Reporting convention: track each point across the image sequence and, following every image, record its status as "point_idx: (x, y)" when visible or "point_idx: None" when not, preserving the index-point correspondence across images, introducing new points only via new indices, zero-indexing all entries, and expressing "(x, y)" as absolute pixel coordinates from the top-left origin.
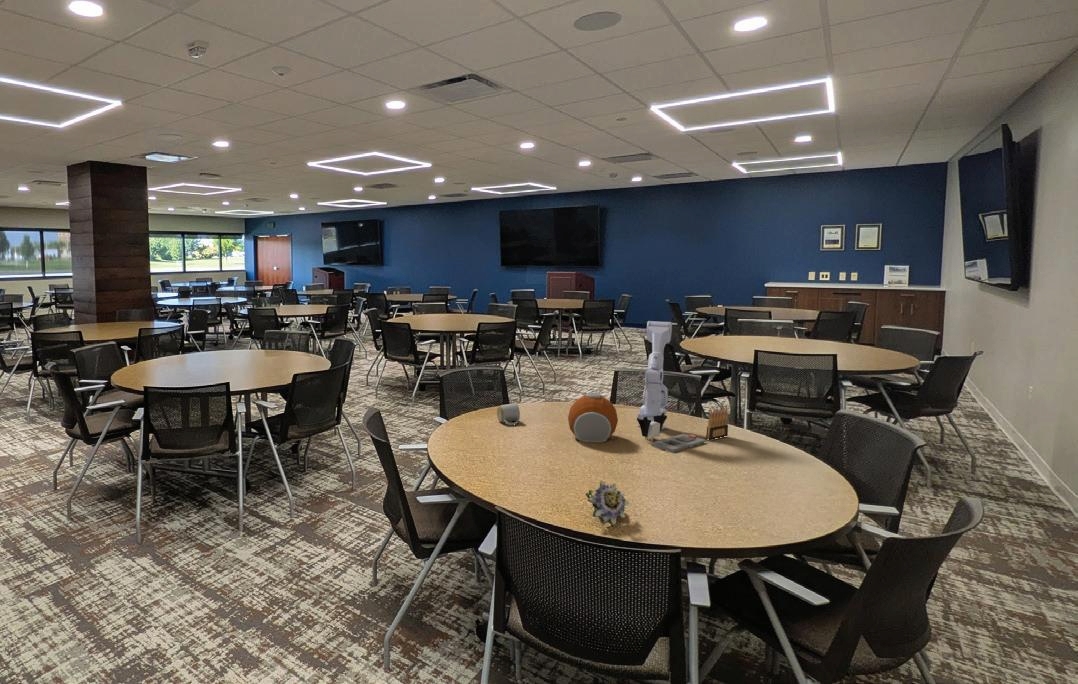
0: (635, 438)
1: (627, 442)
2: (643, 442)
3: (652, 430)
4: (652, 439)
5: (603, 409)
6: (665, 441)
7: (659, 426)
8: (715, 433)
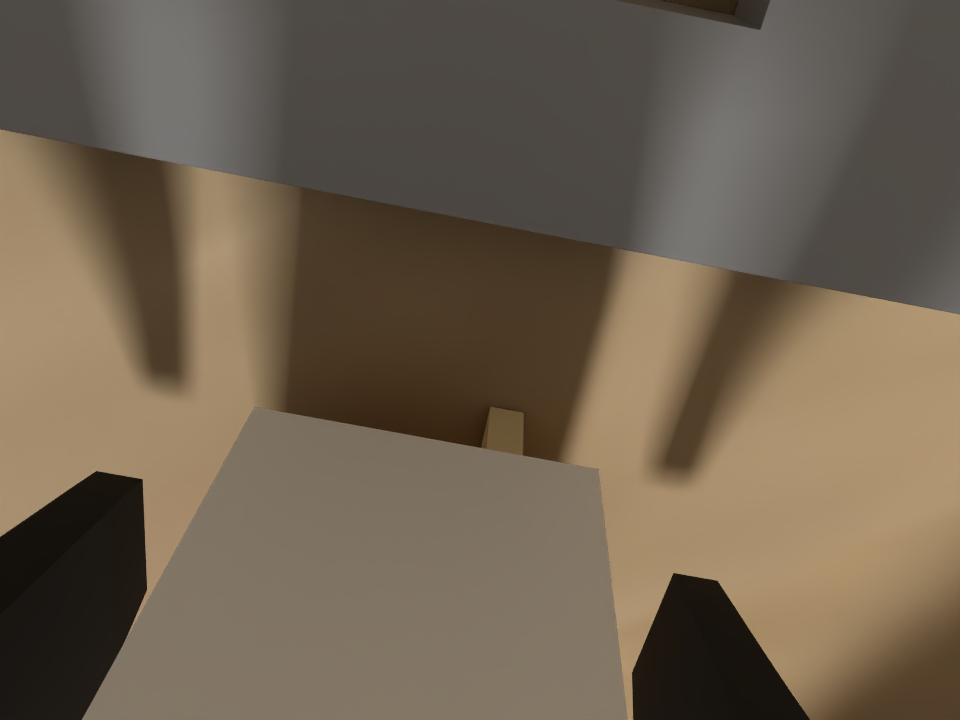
0: None
1: (957, 710)
2: (754, 514)
3: (607, 652)
4: (522, 442)
5: None
6: (562, 10)
7: (149, 656)
8: None
